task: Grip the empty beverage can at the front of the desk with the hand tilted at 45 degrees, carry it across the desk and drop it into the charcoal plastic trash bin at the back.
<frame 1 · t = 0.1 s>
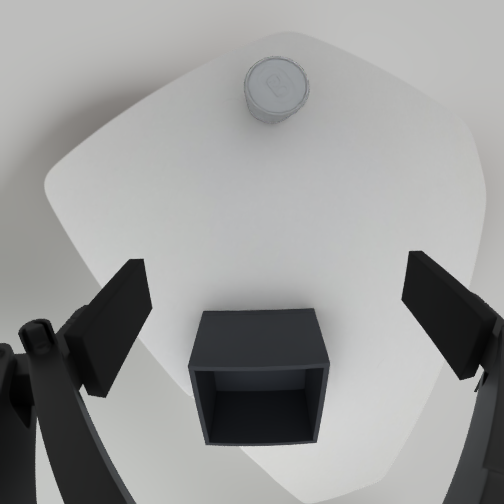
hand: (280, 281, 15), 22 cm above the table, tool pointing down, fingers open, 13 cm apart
trash bin: (259, 353, 43), on the table
beverage can: (270, 102, 32), on the table
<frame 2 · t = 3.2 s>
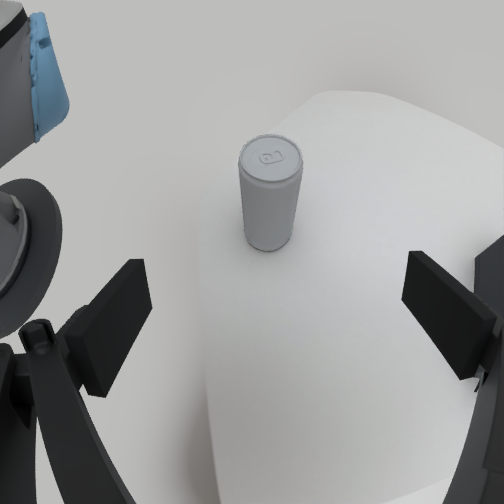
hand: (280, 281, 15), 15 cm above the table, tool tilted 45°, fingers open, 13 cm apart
beverage can: (267, 233, 33), on the table
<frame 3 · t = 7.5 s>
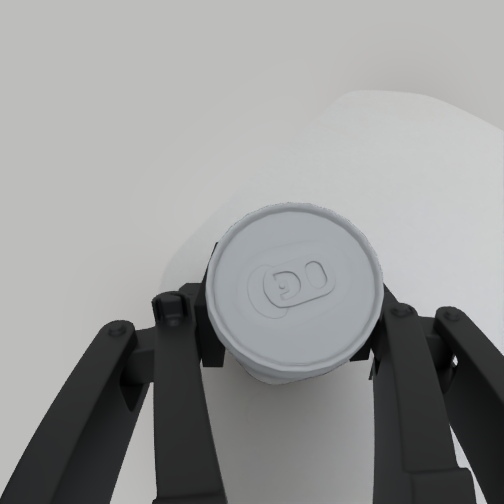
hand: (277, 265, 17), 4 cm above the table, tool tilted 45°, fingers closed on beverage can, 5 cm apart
beverage can: (277, 346, 19), on the table, touching gripper
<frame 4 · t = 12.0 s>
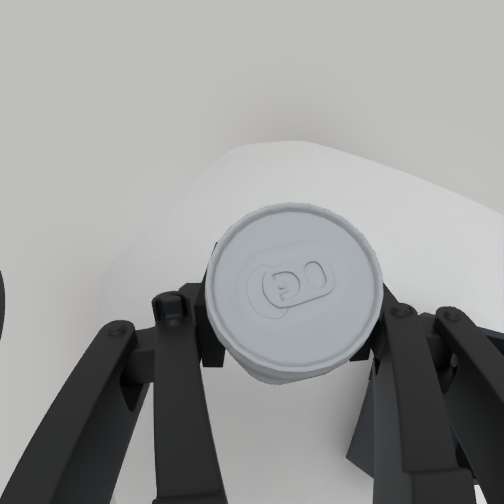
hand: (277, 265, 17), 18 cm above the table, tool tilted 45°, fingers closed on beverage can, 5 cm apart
trash bin: (419, 407, 29), on the table
beverage can: (277, 346, 19), point 15 cm above the table, touching gripper
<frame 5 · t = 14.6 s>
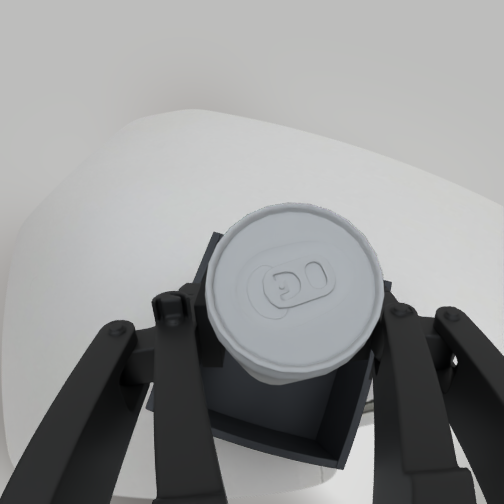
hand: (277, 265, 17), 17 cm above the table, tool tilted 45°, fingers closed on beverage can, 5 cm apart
trash bin: (271, 362, 31), on the table
beverage can: (277, 346, 19), point 13 cm above the table, touching gripper
when the fingers open (12 cm above the table, at t = 16.5 s): beverage can drops 7 cm, resting on trash bin.
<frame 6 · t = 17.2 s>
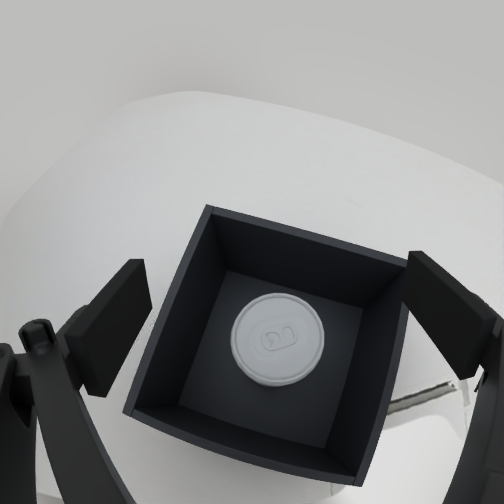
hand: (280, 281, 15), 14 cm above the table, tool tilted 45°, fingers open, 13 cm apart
trash bin: (273, 360, 27), on the table
beverage can: (271, 360, 26), point 1 cm above the table, touching trash bin
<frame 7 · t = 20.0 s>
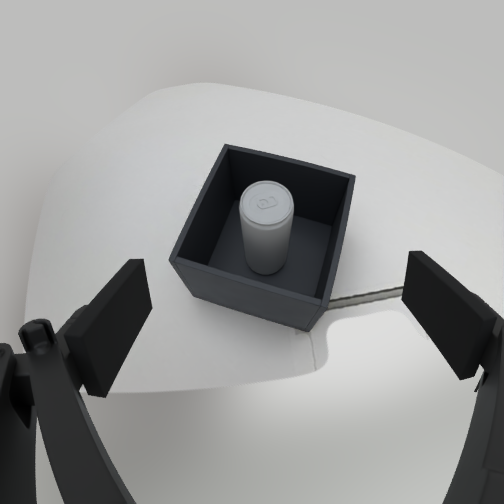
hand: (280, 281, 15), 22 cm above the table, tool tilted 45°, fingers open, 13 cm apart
trash bin: (268, 260, 39), on the table
beverage can: (265, 258, 38), point 1 cm above the table, touching trash bin
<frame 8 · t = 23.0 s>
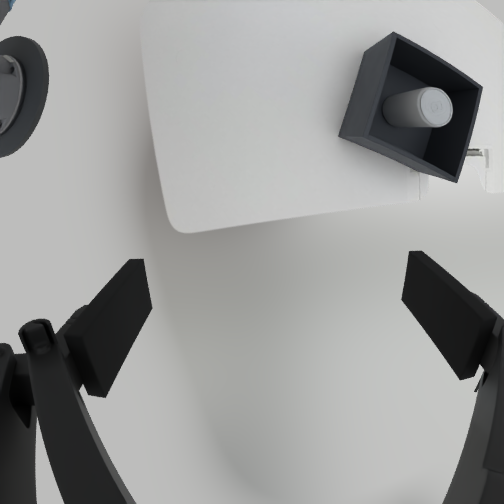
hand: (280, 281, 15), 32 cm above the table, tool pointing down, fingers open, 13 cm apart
trash bin: (394, 111, 40), on the table
beverage can: (395, 111, 40), point 1 cm above the table, touching trash bin
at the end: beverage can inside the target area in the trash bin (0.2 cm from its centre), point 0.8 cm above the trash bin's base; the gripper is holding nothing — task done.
